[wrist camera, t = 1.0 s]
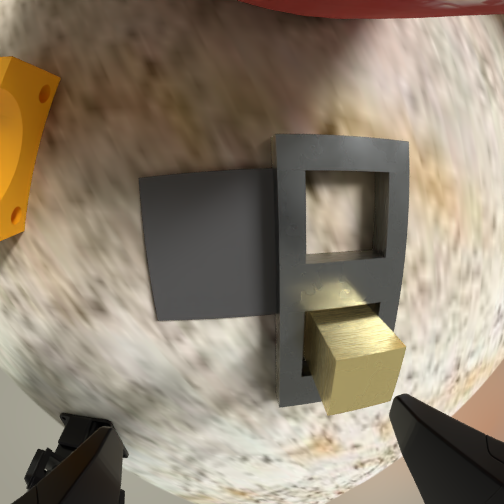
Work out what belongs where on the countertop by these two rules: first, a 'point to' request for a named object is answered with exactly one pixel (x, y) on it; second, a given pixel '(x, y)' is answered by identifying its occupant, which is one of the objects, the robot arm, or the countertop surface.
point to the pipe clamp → (20, 135)
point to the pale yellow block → (351, 357)
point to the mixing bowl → (382, 8)
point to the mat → (210, 243)
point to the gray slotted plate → (337, 263)
